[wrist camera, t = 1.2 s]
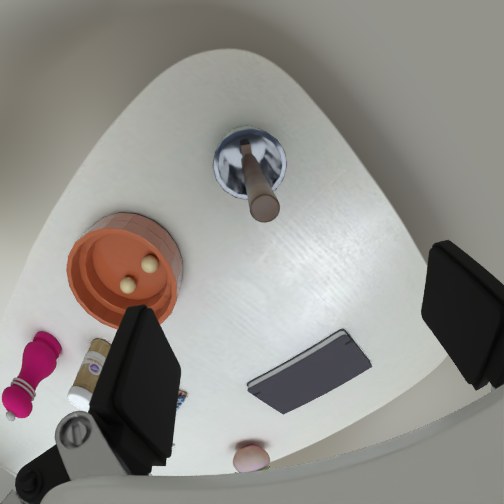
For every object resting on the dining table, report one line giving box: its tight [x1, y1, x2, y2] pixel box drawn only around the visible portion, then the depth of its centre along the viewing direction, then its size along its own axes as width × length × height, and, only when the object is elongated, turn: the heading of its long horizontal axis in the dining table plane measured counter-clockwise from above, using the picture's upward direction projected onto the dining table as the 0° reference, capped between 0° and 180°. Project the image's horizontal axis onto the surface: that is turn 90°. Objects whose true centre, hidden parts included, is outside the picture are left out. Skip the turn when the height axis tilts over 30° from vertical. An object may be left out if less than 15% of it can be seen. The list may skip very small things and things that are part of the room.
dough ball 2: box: [141, 255, 159, 273], centre depth 39 cm, size 2×2×2 cm
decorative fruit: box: [233, 445, 270, 473], centre depth 61 cm, size 9×8×10 cm
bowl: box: [67, 213, 183, 329], centre depth 38 cm, size 15×15×6 cm
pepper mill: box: [2, 332, 61, 421], centre depth 38 cm, size 7×7×20 cm
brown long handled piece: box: [240, 140, 280, 222], centre depth 25 cm, size 4×2×21 cm, turn 11°
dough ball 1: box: [120, 277, 136, 294], centre depth 40 cm, size 2×2×2 cm
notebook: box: [247, 329, 372, 414], centre depth 53 cm, size 13×2×21 cm
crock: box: [213, 126, 287, 200], centre depth 32 cm, size 7×7×8 cm
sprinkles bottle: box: [67, 339, 111, 411], centre depth 42 cm, size 5×5×13 cm
